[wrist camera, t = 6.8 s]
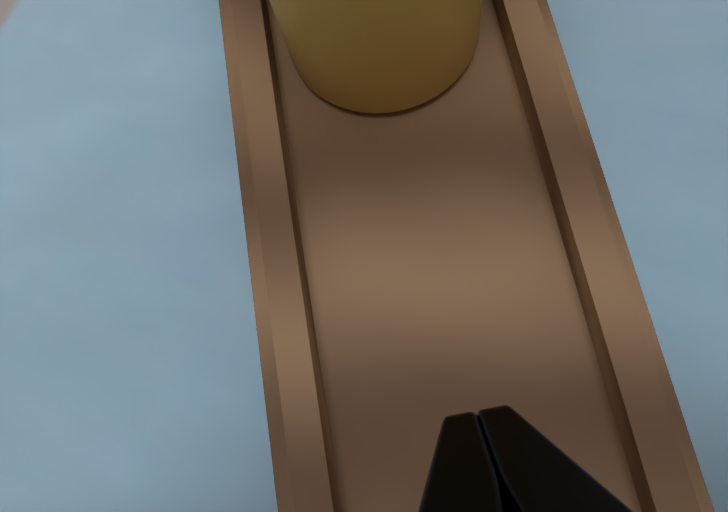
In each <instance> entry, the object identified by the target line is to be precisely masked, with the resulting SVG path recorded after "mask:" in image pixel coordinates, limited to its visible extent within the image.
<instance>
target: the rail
mask: <svg viewBox="0 0 728 512" xmlns="http://www.w3.org/2000/svg"><path fill="white" fill-rule="evenodd" d="M219 7H220V16H221V24H222V33H223V42H224V50H225V59H226V67H227V76H228V85H229V93H230V102H231V110H232V119H233V128H234V136H235V145H236V153H237V162H238V171H239V179H240V188H241V196H242V205H243V214H244V222H245V231H246V240H247V248H248V257H249V265H250V274H251V283H252V291H253V300H254V308H255V317H256V326H257V334H258V343H259V351H260V360H261V369H262V377H263V386H264V394H265V403H266V412H267V420H268V429H269V438H270V446H271V455H272V463H273V472H274V481H275V489H276V498H277V506H278V512H418V510H419V506H420V502H421V499H422V495H423V491H424V488H425V484H426V480H427V477H428V473H429V469H430V466H431V462H432V458H433V455H434V451H435V447H436V444H437V440H438V436H439V433H440V429H441V425H442V422H443V420H444V418H445V417H446V416H449V415H454V414H459V413H464V412H469V411H472V412H474V413H475V414H476V415H477V413H478V411H479V410H481V409H485V408H490V407H495V406H500V405H508V406H510V407H512V408H513V409H514V410H515V411H516V412H517V413H519V414H520V415H521V416H522V417H523V418H524V419H526V420H527V421H528V422H529V423H530V424H531V425H533V426H534V427H535V428H536V429H537V430H538V431H540V432H541V433H542V434H543V435H544V436H546V437H547V438H548V439H549V440H550V441H551V442H553V443H554V444H555V445H556V446H557V447H558V448H560V449H561V450H562V451H563V452H564V453H565V454H567V455H568V456H569V457H570V458H571V459H572V460H574V461H575V462H576V463H577V464H578V465H579V466H581V467H582V468H583V469H584V470H585V471H586V472H588V473H589V474H590V475H591V476H592V477H594V478H595V479H596V480H597V481H598V482H599V483H601V484H602V485H603V486H604V487H605V488H606V489H608V490H609V491H610V492H611V493H612V494H613V495H615V496H616V497H617V498H618V499H619V500H620V501H622V502H623V503H624V504H625V505H626V506H627V507H629V508H630V509H631V510H632V511H633V512H714V509H713V506H712V503H711V500H710V497H709V494H708V491H707V488H706V485H705V482H704V479H703V476H702V473H701V470H700V467H699V464H698V461H697V458H696V455H695V452H694V449H693V445H692V442H691V439H690V436H689V433H688V430H687V427H686V424H685V421H684V418H683V415H682V412H681V409H680V406H679V403H678V400H677V397H676V394H675V391H674V388H673V384H672V381H671V378H670V375H669V372H668V369H667V366H666V363H665V360H664V357H663V354H662V351H661V348H660V345H659V342H658V339H657V336H656V333H655V330H654V327H653V323H652V320H651V317H650V314H649V311H648V308H647V305H646V302H645V299H644V296H643V293H642V290H641V287H640V284H639V281H638V278H637V275H636V272H635V269H634V266H633V262H632V259H631V256H630V253H629V250H628V247H627V244H626V241H625V238H624V235H623V232H622V229H621V226H620V223H619V220H618V217H617V214H616V211H615V208H614V205H613V201H612V198H611V195H610V192H609V189H608V186H607V183H606V180H605V177H604V174H603V171H602V168H601V165H600V162H599V159H598V156H597V153H596V150H595V147H594V144H593V141H592V137H591V134H590V131H589V128H588V125H587V122H586V119H585V116H584V113H583V110H582V107H581V104H580V101H579V98H578V95H577V92H576V89H575V86H574V83H573V80H572V76H571V73H570V70H569V67H568V64H567V61H566V58H565V55H564V52H563V49H562V46H561V43H560V40H559V37H558V34H557V31H556V28H555V25H554V22H553V19H552V15H551V12H550V9H549V6H548V3H547V0H482V7H481V18H480V29H479V37H478V42H477V46H476V49H475V52H474V54H473V56H472V58H471V61H470V62H469V64H468V65H467V67H466V69H465V70H464V72H463V73H462V74H461V75H460V76H459V78H458V79H457V80H456V81H455V82H454V83H453V84H452V85H451V86H449V87H448V88H447V89H446V90H445V91H443V92H442V93H440V94H439V95H437V96H436V97H434V98H432V99H430V100H429V101H427V102H425V103H422V104H420V105H417V106H415V107H412V108H409V109H405V110H401V111H396V112H389V113H364V112H357V111H352V110H348V109H345V108H342V107H339V106H336V105H334V104H332V103H330V102H328V101H326V100H325V99H323V98H322V97H320V96H319V95H317V94H316V93H315V92H314V91H313V90H311V89H310V88H309V87H308V86H307V84H306V83H305V82H304V81H303V80H302V78H301V77H300V75H299V74H298V72H297V70H296V68H295V66H294V64H293V61H292V59H291V56H290V53H289V51H288V48H287V45H286V43H285V40H284V37H283V35H282V32H281V29H280V27H279V24H278V22H277V19H276V16H275V14H274V11H273V8H272V6H271V3H270V0H219Z"/></svg>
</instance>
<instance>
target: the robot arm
mask: <svg viewBox="0 0 728 512" xmlns="http://www.w3.org/2000/svg"><path fill="white" fill-rule="evenodd" d="M418 512H633V511H632V510H631V509H630V508H629V507H627V506H626V505H625V504H624V503H623V502H622V501H620V500H619V499H618V498H617V497H616V496H615V495H613V494H612V493H611V492H610V491H609V490H608V489H606V488H605V487H604V486H603V485H602V484H601V483H599V482H598V481H597V480H596V479H595V478H594V477H592V476H591V475H590V474H589V473H588V472H586V471H585V470H584V469H583V468H582V467H581V466H579V465H578V464H577V463H576V462H575V461H574V460H572V459H571V458H570V457H569V456H568V455H567V454H565V453H564V452H563V451H562V450H561V449H560V448H558V447H557V446H556V445H555V444H554V443H553V442H551V441H550V440H549V439H548V438H547V437H546V436H544V435H543V434H542V433H541V432H540V431H538V430H537V429H536V428H535V427H534V426H533V425H531V424H530V423H529V422H528V421H527V420H526V419H524V418H523V417H522V416H521V415H520V414H519V413H517V412H516V411H515V410H514V409H513V408H512V407H510V406H508V405H500V406H495V407H490V408H485V409H481V410H479V411H478V413H477V415H476V414H475V413H474V412H472V411H469V412H464V413H459V414H454V415H449V416H446V417H445V418H444V420H443V422H442V425H441V429H440V433H439V436H438V440H437V444H436V447H435V451H434V455H433V458H432V462H431V466H430V469H429V473H428V477H427V480H426V484H425V488H424V491H423V495H422V499H421V502H420V506H419V510H418Z"/></svg>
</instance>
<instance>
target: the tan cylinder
mask: <svg viewBox="0 0 728 512" xmlns="http://www.w3.org/2000/svg"><path fill="white" fill-rule="evenodd" d="M270 3H271V6H272V8H273V11H274V14H275V16H276V19H277V22H278V24H279V27H280V29H281V32H282V35H283V37H284V40H285V43H286V45H287V48H288V51H289V53H290V56H291V59H292V61H293V64H294V66H295V68H296V70H297V72H298V74H299V75H300V77H301V78H302V80H303V81H304V82H305V83H306V84H307V86H308V87H309V88H310V89H311V90H313V91H314V92H315V93H316V94H317V95H319V96H320V97H322V98H323V99H325V100H326V101H328V102H330V103H332V104H334V105H336V106H339V107H342V108H345V109H348V110H352V111H357V112H364V113H389V112H396V111H401V110H405V109H409V108H412V107H415V106H417V105H420V104H422V103H425V102H427V101H429V100H430V99H432V98H434V97H436V96H437V95H439V94H440V93H442V92H443V91H445V90H446V89H447V88H448V87H449V86H451V85H452V84H453V83H454V82H455V81H456V80H457V79H458V78H459V76H460V75H461V74H462V73H463V72H464V70H465V69H466V67H467V65H468V64H469V62H470V61H471V58H472V56H473V54H474V52H475V49H476V46H477V42H478V37H479V29H480V18H481V7H482V0H270Z"/></svg>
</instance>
